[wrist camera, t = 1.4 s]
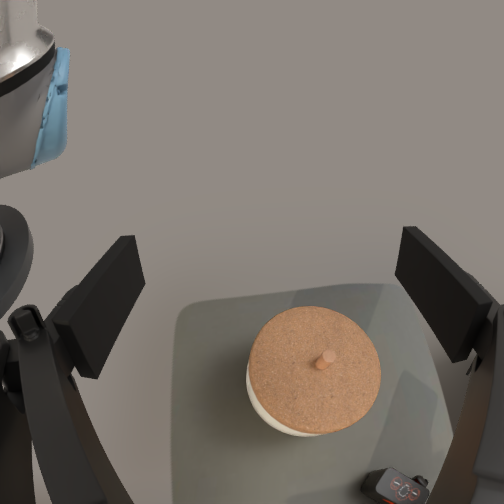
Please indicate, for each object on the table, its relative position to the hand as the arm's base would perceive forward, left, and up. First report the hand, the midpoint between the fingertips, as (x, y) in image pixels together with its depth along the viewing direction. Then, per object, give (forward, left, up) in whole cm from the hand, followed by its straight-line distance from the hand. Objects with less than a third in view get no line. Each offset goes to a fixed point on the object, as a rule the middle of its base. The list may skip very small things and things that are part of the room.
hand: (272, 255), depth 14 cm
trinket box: (+6, +2, -18) cm, 19 cm away
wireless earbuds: (+20, -4, -18) cm, 27 cm away
